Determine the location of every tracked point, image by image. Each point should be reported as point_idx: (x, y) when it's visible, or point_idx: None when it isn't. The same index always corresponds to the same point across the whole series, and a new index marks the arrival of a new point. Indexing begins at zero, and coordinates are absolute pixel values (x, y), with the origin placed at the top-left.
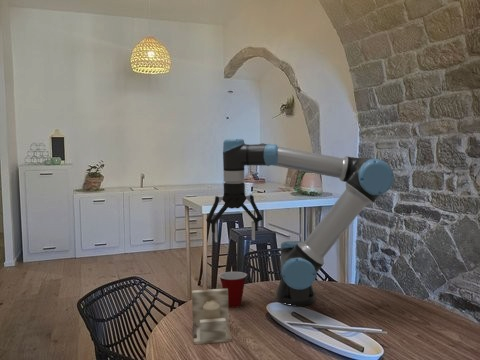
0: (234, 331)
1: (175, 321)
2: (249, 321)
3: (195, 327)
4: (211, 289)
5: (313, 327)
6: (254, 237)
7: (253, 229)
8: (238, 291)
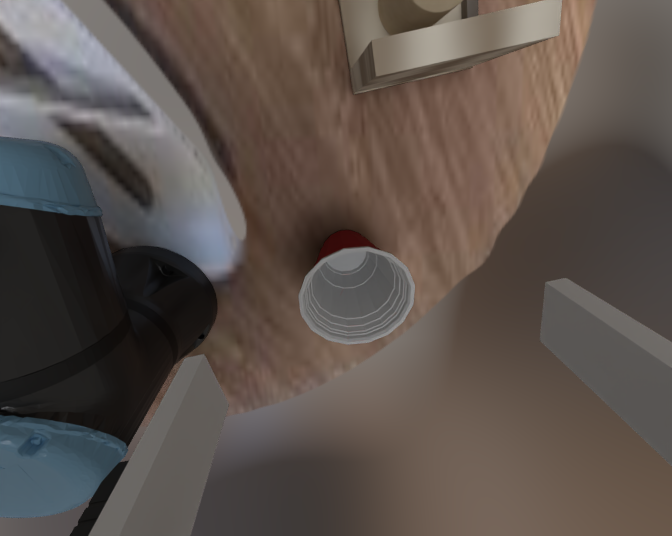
0: (327, 33)
1: (523, 114)
2: (283, 122)
3: (469, 4)
4: (458, 55)
5: (50, 77)
6: (178, 380)
7: (145, 461)
8: (329, 245)
